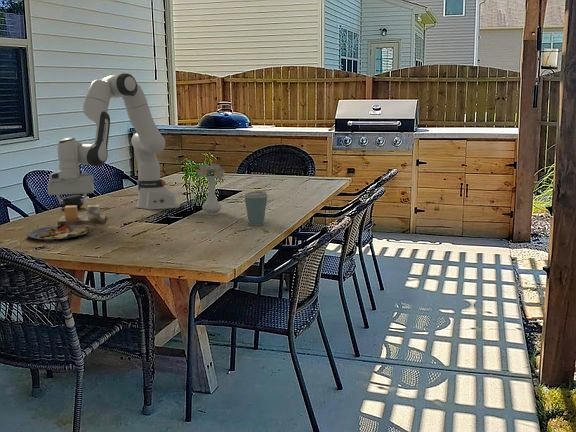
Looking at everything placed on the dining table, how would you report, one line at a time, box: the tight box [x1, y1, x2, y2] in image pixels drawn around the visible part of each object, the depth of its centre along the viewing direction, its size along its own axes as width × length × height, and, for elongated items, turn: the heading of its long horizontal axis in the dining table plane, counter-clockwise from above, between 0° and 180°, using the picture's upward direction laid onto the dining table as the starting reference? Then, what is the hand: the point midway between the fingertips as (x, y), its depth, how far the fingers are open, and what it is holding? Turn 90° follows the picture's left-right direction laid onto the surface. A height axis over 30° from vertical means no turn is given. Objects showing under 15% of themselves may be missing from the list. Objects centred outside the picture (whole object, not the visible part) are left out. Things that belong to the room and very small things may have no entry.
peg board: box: [57, 204, 107, 226], centre depth 301 cm, size 20×14×7 cm
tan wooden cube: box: [64, 205, 79, 219], centre depth 300 cm, size 5×5×6 cm
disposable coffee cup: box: [243, 190, 268, 227], centre depth 294 cm, size 11×11×15 cm
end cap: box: [60, 194, 84, 211], centre depth 332 cm, size 10×7×7 cm
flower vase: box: [196, 162, 226, 216], centre depth 319 cm, size 13×18×25 cm
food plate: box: [25, 224, 91, 242], centre depth 270 cm, size 25×23×4 cm
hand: (72, 203), depth 299 cm, fingers open, 8 cm apart
